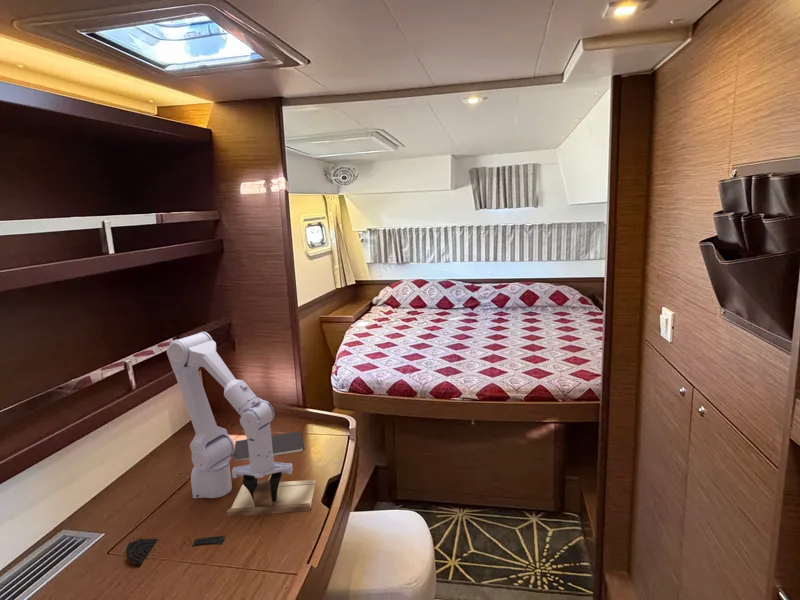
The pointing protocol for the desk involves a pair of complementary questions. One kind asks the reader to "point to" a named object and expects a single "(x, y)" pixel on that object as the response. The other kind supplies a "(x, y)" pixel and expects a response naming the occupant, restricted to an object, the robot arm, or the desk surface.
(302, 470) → the desk surface
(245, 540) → the desk surface
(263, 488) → the marking gauge
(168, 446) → the desk surface
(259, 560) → the desk surface
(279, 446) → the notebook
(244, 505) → the plywood board
